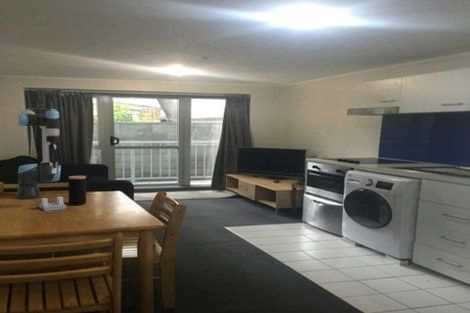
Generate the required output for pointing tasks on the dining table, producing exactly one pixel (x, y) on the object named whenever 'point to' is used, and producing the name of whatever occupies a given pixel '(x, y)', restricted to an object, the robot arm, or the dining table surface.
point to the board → (52, 204)
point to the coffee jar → (77, 190)
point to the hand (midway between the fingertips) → (53, 172)
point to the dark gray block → (51, 170)
